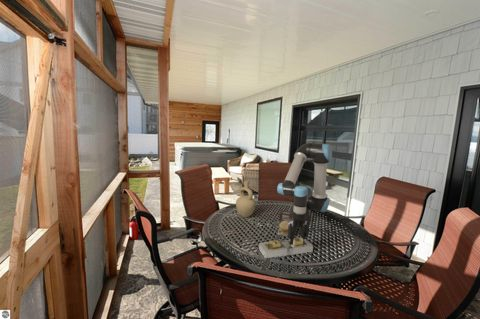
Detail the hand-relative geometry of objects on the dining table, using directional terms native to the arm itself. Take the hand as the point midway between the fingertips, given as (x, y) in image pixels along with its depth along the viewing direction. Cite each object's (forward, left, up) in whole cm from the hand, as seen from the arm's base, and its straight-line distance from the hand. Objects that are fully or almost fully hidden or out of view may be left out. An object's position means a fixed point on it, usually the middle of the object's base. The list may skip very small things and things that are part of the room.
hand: (296, 248), depth 140 cm
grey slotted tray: (+7, 0, -1) cm, 7 cm away
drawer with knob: (+15, 0, -1) cm, 15 cm away
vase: (+14, -58, -1) cm, 60 cm away
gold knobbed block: (0, 0, 0) cm, 0 cm away
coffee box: (-3, -20, -1) cm, 20 cm away
